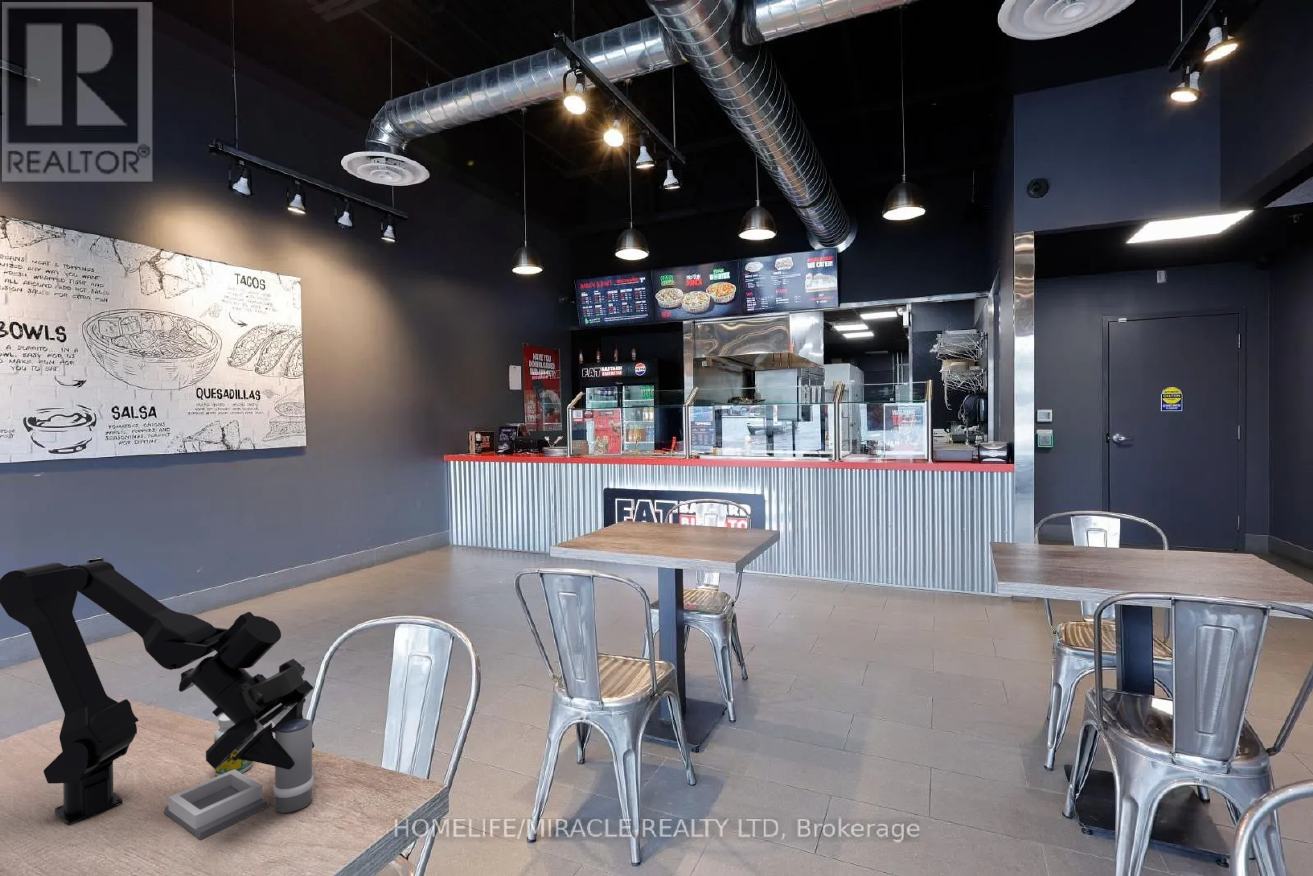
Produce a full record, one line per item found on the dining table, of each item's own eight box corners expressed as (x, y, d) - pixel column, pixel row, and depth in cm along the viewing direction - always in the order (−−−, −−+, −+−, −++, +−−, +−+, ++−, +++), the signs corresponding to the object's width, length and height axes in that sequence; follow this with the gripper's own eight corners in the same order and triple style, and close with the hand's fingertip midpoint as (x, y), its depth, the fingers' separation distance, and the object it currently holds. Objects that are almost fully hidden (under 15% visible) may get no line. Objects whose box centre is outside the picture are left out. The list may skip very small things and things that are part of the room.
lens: (266, 806, 94) (266, 727, 94) (302, 789, 99) (302, 713, 99) (284, 817, 92) (284, 736, 92) (320, 799, 96) (320, 722, 96)
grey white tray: (164, 813, 93) (164, 794, 93) (230, 784, 101) (229, 766, 101) (200, 840, 87) (200, 819, 87) (267, 807, 95) (267, 788, 95)
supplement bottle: (252, 758, 109) (251, 705, 109) (252, 772, 105) (251, 716, 105) (215, 768, 106) (214, 713, 106) (213, 782, 102) (213, 725, 102)
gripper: (225, 674, 86) (304, 752, 86) (301, 632, 105) (366, 695, 105) (170, 730, 86) (249, 808, 86) (256, 678, 105) (321, 741, 105)
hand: (302, 757), depth 95 cm, fingers closed on lens, 5 cm apart
